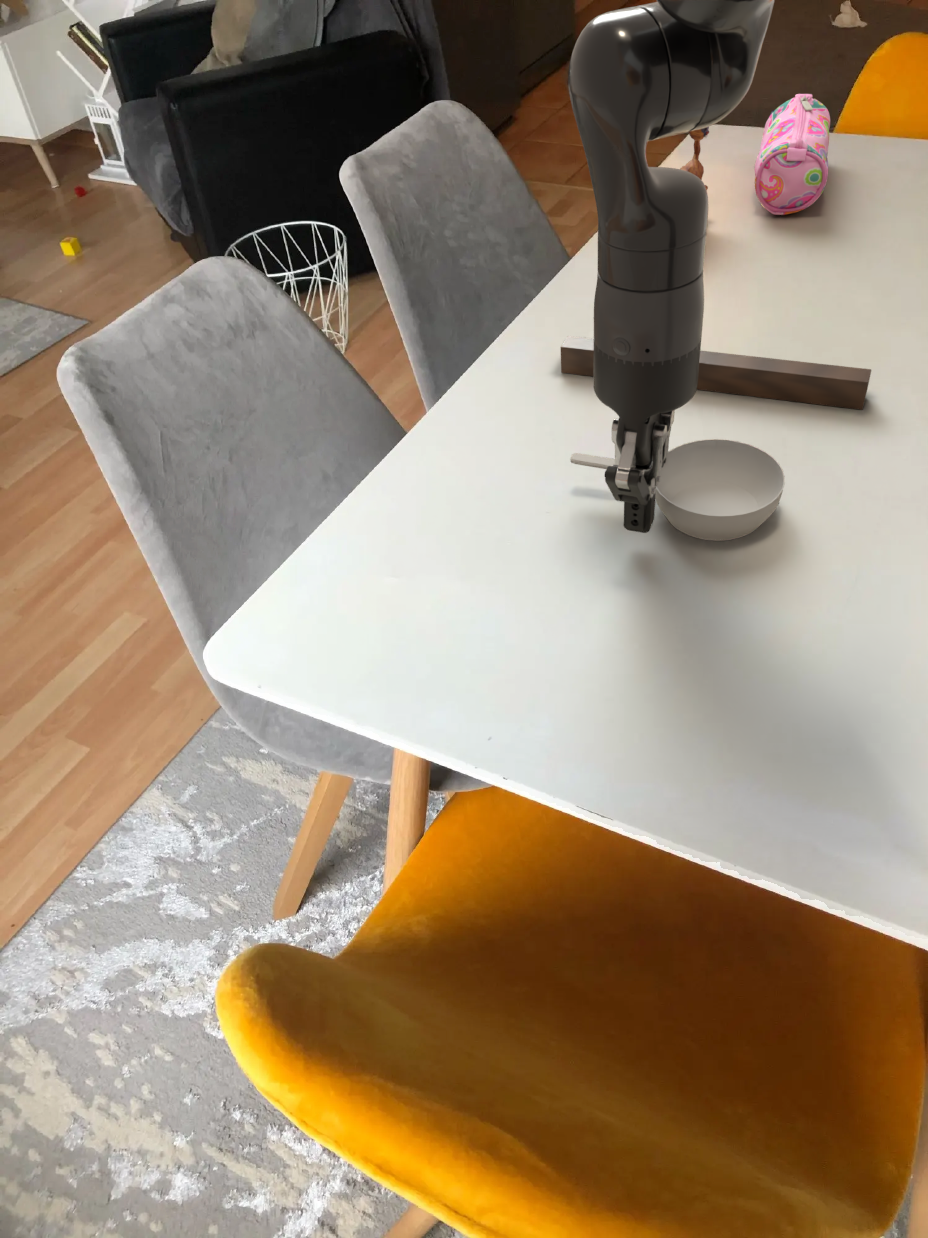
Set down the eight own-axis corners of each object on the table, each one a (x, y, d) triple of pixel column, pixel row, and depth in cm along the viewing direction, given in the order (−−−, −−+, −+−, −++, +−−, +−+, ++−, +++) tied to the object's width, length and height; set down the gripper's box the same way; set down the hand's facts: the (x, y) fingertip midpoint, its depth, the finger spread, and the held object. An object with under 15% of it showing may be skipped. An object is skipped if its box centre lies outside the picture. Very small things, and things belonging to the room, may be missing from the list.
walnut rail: (865, 396, 93) (871, 369, 90) (862, 410, 91) (868, 382, 89) (568, 361, 102) (567, 335, 100) (560, 372, 101) (560, 346, 99)
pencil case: (760, 156, 137) (768, 87, 131) (828, 157, 135) (839, 86, 129) (746, 218, 123) (754, 144, 117) (820, 220, 121) (833, 145, 114)
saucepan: (771, 557, 78) (778, 520, 75) (556, 527, 83) (555, 492, 80) (785, 479, 85) (791, 442, 82) (586, 456, 90) (585, 421, 87)
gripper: (679, 385, 62) (664, 585, 74) (719, 295, 71) (701, 487, 82) (567, 372, 65) (571, 568, 76) (620, 286, 73) (616, 474, 85)
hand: (638, 525), depth 79 cm, fingers closed
